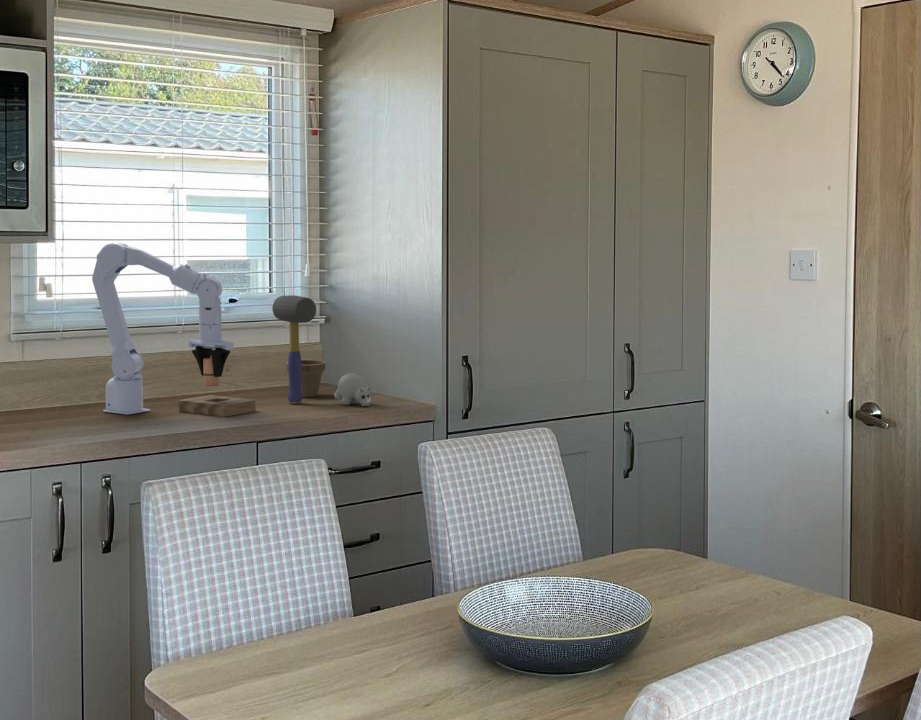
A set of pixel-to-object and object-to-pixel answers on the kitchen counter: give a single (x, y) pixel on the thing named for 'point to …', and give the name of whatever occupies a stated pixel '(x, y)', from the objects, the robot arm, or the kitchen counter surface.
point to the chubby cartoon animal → (352, 390)
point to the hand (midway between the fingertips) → (211, 376)
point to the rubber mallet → (294, 336)
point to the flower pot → (310, 376)
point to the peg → (209, 373)
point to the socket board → (217, 405)
